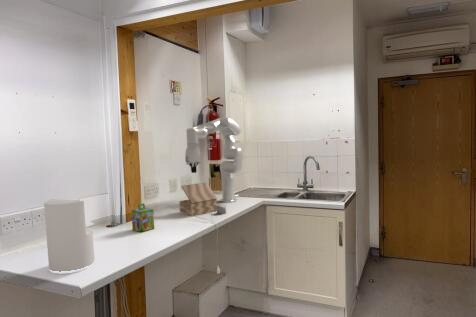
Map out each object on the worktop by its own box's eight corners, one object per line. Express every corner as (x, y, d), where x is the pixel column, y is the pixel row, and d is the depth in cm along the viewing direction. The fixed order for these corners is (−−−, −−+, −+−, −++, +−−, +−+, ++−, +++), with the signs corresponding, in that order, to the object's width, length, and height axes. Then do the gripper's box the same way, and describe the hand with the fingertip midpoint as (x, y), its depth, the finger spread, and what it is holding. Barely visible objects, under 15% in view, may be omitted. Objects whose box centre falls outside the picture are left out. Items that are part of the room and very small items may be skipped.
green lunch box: (141, 232, 194) (140, 206, 192) (131, 230, 199) (130, 204, 198) (155, 228, 201) (153, 203, 200) (145, 226, 206) (143, 201, 205)
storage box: (203, 207, 254) (203, 196, 253) (216, 211, 241) (216, 199, 241) (179, 212, 241) (179, 201, 241) (192, 216, 229) (191, 204, 228)
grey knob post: (222, 211, 238) (222, 204, 238) (227, 213, 233) (227, 205, 233) (215, 213, 234) (214, 206, 234) (220, 214, 230) (220, 207, 229)
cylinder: (71, 276, 135) (66, 205, 133) (39, 271, 141) (33, 203, 139) (103, 260, 151) (99, 197, 149) (73, 257, 157) (69, 195, 155)
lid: (205, 183, 249) (206, 182, 249) (216, 199, 241) (216, 198, 240) (181, 186, 237) (181, 185, 236) (191, 204, 228) (192, 203, 228)
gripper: (199, 145, 248) (200, 171, 250) (180, 146, 239) (181, 173, 240) (204, 145, 243) (206, 171, 244) (186, 146, 233) (187, 174, 234)
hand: (193, 172), depth 242 cm, fingers closed
